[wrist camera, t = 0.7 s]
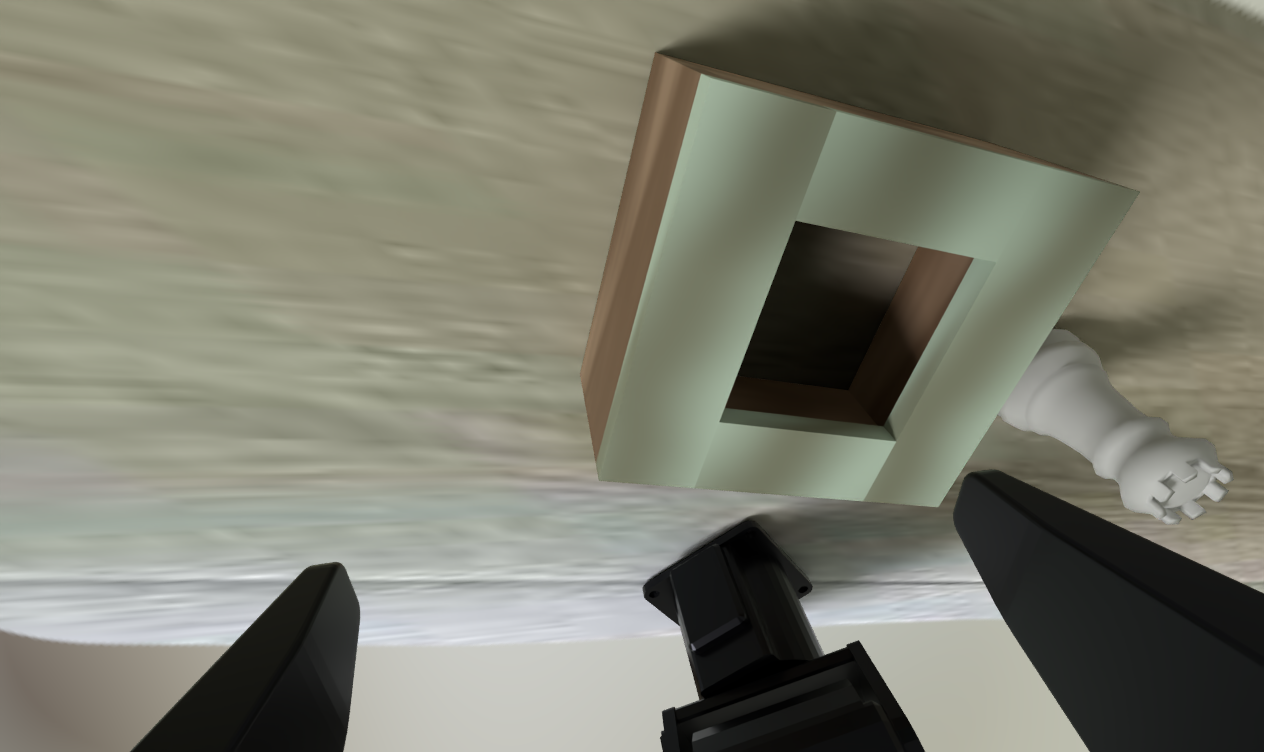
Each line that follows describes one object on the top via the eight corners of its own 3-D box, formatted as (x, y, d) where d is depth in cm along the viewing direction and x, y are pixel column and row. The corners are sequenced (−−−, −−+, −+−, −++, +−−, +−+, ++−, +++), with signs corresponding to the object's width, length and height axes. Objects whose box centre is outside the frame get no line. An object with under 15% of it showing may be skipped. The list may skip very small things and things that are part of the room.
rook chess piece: (1072, 305, 25) (1273, 418, 19) (1076, 384, 28) (1255, 510, 21) (969, 352, 26) (1128, 481, 19) (981, 426, 28) (1126, 563, 22)
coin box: (990, 142, 21) (1140, 191, 16) (856, 408, 26) (938, 507, 21) (655, 52, 18) (710, 78, 13) (579, 374, 23) (598, 480, 18)
